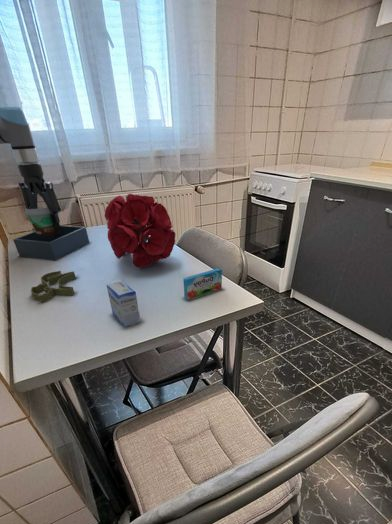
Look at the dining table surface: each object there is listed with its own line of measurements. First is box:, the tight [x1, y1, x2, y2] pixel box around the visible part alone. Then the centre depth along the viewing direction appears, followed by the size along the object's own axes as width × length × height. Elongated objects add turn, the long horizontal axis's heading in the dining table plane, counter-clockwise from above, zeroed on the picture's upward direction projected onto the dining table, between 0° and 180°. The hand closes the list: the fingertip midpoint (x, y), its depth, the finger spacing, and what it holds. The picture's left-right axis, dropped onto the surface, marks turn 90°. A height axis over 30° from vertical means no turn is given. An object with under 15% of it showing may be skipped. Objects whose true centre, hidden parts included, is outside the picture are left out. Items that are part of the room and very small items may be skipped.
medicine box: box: [106, 280, 141, 328], centre depth 73 cm, size 8×4×9 cm, turn 35°
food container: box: [24, 206, 60, 236], centre depth 115 cm, size 12×6×10 cm, turn 138°
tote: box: [12, 224, 90, 261], centre depth 120 cm, size 18×22×7 cm
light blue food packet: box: [182, 267, 223, 301], centre depth 83 cm, size 12×2×6 cm, turn 123°
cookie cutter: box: [30, 270, 77, 303], centre depth 91 cm, size 18×12×2 cm, turn 15°
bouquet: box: [104, 193, 176, 269], centre depth 101 cm, size 22×24×30 cm
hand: (50, 230), depth 118 cm, fingers closed on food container, 7 cm apart
